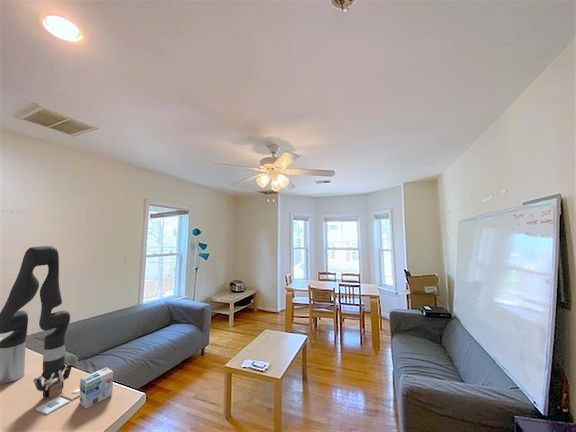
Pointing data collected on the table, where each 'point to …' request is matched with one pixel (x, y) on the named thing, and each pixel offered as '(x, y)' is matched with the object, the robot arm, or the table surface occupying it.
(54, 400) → the box tile
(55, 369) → the robot arm
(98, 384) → the light bulb box
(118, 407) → the table surface
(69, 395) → the mug tile
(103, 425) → the table surface
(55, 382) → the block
